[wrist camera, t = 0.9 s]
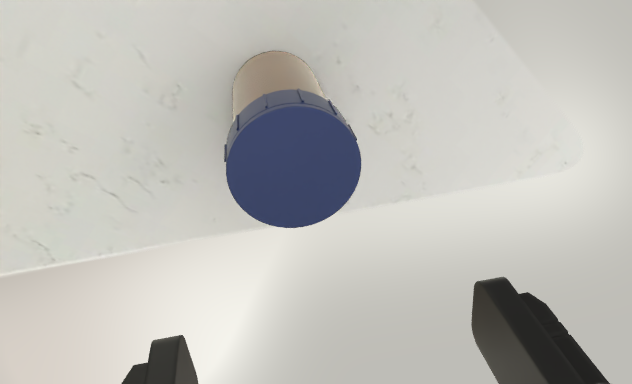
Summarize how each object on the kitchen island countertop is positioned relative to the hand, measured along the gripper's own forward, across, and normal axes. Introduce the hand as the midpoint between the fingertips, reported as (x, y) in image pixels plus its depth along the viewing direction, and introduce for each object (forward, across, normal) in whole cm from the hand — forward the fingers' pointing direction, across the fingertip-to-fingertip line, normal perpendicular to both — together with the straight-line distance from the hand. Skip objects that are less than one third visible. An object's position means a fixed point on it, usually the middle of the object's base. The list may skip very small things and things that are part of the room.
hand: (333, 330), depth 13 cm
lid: (+10, 0, 0) cm, 10 cm away
